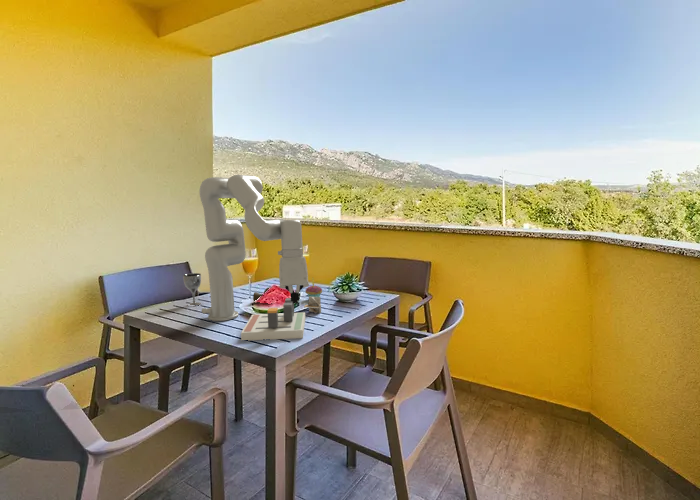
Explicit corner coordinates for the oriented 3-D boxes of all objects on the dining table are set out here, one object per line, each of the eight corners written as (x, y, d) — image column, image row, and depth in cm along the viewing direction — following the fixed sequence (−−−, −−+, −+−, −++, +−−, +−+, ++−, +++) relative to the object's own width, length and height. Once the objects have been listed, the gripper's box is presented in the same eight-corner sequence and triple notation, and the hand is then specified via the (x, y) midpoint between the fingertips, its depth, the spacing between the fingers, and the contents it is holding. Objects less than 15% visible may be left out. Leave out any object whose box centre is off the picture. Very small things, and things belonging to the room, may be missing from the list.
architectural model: (318, 315, 164) (318, 299, 163) (304, 314, 165) (303, 298, 164) (321, 313, 167) (320, 297, 166) (306, 312, 169) (306, 296, 168)
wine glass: (206, 303, 185) (204, 274, 183) (192, 307, 178) (189, 276, 176) (196, 301, 189) (194, 272, 187) (182, 305, 183) (179, 275, 181)
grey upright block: (268, 328, 136) (267, 311, 135) (269, 325, 140) (268, 308, 139) (277, 328, 137) (276, 310, 136) (278, 324, 140) (277, 307, 139)
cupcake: (321, 301, 185) (320, 278, 183) (304, 301, 185) (303, 278, 183) (323, 297, 193) (322, 274, 192) (306, 297, 193) (306, 274, 192)
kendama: (279, 296, 198) (270, 306, 179) (261, 297, 199) (250, 306, 179) (278, 285, 198) (269, 293, 178) (260, 286, 198) (249, 294, 178)
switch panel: (241, 340, 134) (239, 313, 133) (252, 321, 156) (251, 298, 154) (302, 338, 135) (301, 311, 134) (305, 319, 157) (304, 296, 156)
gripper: (270, 256, 131) (273, 306, 133) (312, 254, 132) (315, 304, 134) (273, 253, 138) (276, 301, 140) (313, 251, 139) (315, 299, 142)
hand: (295, 302), depth 137 cm, fingers closed
